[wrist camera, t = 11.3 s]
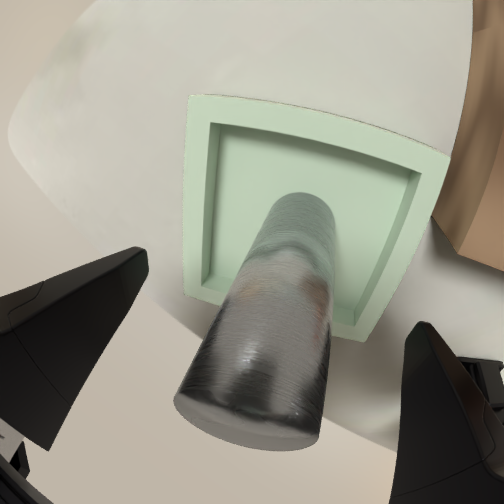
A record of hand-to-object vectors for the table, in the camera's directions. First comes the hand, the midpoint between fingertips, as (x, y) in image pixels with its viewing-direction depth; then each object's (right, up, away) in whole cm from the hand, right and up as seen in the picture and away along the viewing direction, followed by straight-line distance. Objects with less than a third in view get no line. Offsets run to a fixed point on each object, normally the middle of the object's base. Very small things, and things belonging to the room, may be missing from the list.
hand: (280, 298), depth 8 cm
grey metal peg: (+1, +3, +4) cm, 5 cm away
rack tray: (+1, +3, +5) cm, 6 cm away
